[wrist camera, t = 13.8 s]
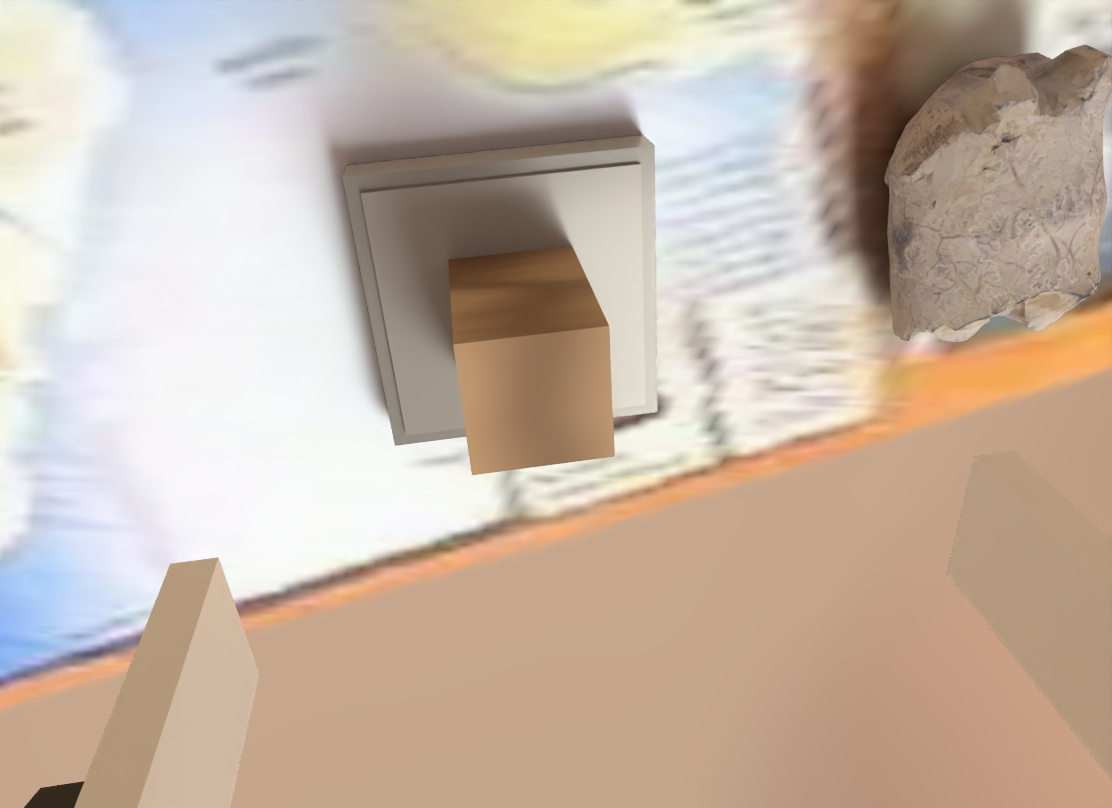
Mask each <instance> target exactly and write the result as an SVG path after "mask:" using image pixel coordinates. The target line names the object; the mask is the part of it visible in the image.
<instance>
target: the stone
mask: <svg viewBox="0 0 1112 808" xmlns="http://www.w3.org/2000/svg"><path fill="white" fill-rule="evenodd" d="M1111 90H1112V59H1111V56H1109V55H1107V54H1105V53H1104V52H1101V51H1099V50H1097V49H1095V48H1093V47H1090V46H1088V45H1082V46H1079V47H1076V48H1073V49H1070V50H1066V51H1065V52H1063V53H1062V54H1060V55H1059V56H1057V57H1056V58H1054V59H1050V58H1048V57H1045V56H1043V55H1041V54H1039V53H1029V54H1021V55H1017V56H1013V57H1003V56H1000V57H994V58H987V59H983V60H978V61H974V62H971V63H968V64H967V65H965V66H964V67H962V68H961V69H959V70H958V71H957V72H956V73H955V74H954V75H953V76H952V77H950V78H949V79H948V80H947V81H946V82H944V83H943V84H942V85H941V86H940V87H939V88H938V89H937V90H936V91H935V92H934V93H933V94H932V96H931V97H930V98H929V99H928V100H927V101H926V102H925V103H924V104H923V106H922V107H921V109H920V110H919V112H918V113H917V114H916V115H915V116H914V117H913V118H912V119H911V120H910V121H909V122H908V124H907V125H906V126H905V128H904V131H903V133H902V135H901V137H900V139H899V140H898V142H897V145H896V148H895V151H894V153H893V155H892V157H891V159H890V160H889V162H888V166H887V170H886V173H885V176H884V181H885V183H886V184H887V185H888V187H889V198H890V200H889V211H888V231H887V235H888V249H889V260H890V289H891V313H892V321H893V329H894V333H895V335H897V336H898V337H899V338H900V339H901V340H906V341H910V339H912V338H913V337H914V336H915V335H916V334H918V333H919V332H926V333H932V334H934V335H935V336H936V337H937V338H938V339H939V340H945V341H950V342H960V341H966V340H968V339H969V338H970V337H971V336H972V335H973V334H975V333H976V332H977V331H978V330H979V329H980V328H981V327H982V326H983V325H984V324H987V323H989V322H990V318H991V317H993V316H1004V317H1007V318H1010V319H1014V320H1017V321H1018V322H1021V323H1023V324H1024V325H1025V326H1026V327H1027V328H1029V329H1032V330H1034V331H1039V330H1042V329H1044V328H1045V327H1046V326H1047V325H1049V324H1052V323H1054V322H1056V321H1057V320H1058V319H1059V318H1060V317H1061V316H1062V315H1063V314H1064V313H1065V312H1066V311H1068V310H1071V309H1072V308H1073V307H1075V306H1076V305H1077V304H1078V303H1079V302H1081V301H1082V300H1084V299H1086V298H1087V297H1089V296H1090V294H1096V290H1097V285H1098V284H1099V283H1100V282H1101V276H1100V268H1099V239H1100V232H1101V226H1102V223H1103V219H1104V215H1105V210H1106V201H1107V193H1106V185H1105V179H1104V172H1103V118H1104V112H1105V108H1106V105H1107V101H1108V98H1109V96H1110V93H1111Z"/></svg>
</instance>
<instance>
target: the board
mask: <svg viewBox="0 0 1112 808" xmlns="http://www.w3.org/2000/svg"><path fill="white" fill-rule="evenodd" d="M342 180H343V185H344V190H345V195H346V200H347V205H348V210H349V215H350V220H351V226H352V231H353V236H354V241H355V246H356V251H357V256H358V261H359V266H360V271H361V276H362V281H363V286H364V291H365V296H366V301H367V306H368V311H369V317H370V322H371V327H372V332H373V337H374V342H375V347H376V352H377V357H378V362H379V367H380V372H381V377H382V382H383V387H384V392H385V397H386V402H387V408H388V413H389V418H390V423H391V428H392V433H393V438H394V443H395V446H396V445H404V444H412V443H419V442H427V441H435V440H443V439H450V438H458V437H466V430H465V423H464V416H463V409H462V402H461V395H460V388H459V381H458V374H457V367H456V360H455V354H454V347H453V332H452V315H451V297H450V279H449V262H448V260H449V259H458V258H467V257H476V256H485V255H494V254H503V253H512V252H521V251H530V250H539V249H548V248H557V247H566V246H573V248H574V251H575V253H576V255H577V257H578V259H579V261H580V264H581V266H582V268H583V270H584V272H585V274H586V277H587V279H588V281H589V283H590V285H591V287H592V290H593V292H594V294H595V296H596V298H597V300H598V303H599V305H600V307H601V309H602V311H603V313H604V316H605V318H606V320H607V322H608V324H609V332H610V356H611V381H612V405H613V417H621V416H629V415H636V414H644V413H652V412H657V337H656V248H655V159H654V145H653V144H652V143H651V142H650V141H649V140H648V139H647V138H646V137H645V136H644V135H637V136H627V137H617V138H607V139H597V140H588V141H578V142H568V143H558V144H548V145H538V146H529V147H519V148H509V149H499V150H489V151H480V152H470V153H460V154H450V155H440V156H431V157H421V158H411V159H401V160H391V161H382V162H372V163H362V164H352V165H346V168H345V171H344V174H343V176H342Z"/></svg>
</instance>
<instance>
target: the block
mask: <svg viewBox="0 0 1112 808" xmlns="http://www.w3.org/2000/svg"><path fill="white" fill-rule="evenodd" d="M448 262H449V279H450V297H451V315H452V332H453V347H454V354H455V360H456V367H457V374H458V381H459V388H460V395H461V402H462V409H463V416H464V423H465V430H466V437H467V443H468V450H469V457H470V464H471V471H472V475H477V474H484V473H492V472H499V471H507V470H515V469H522V468H530V467H537V466H545V465H553V464H560V463H568V462H575V461H583V460H591V459H598V458H606V457H613V456H615V454H614V430H613V405H612V381H611V356H610V332H609V324H608V322H607V320H606V318H605V316H604V313H603V311H602V309H601V307H600V305H599V303H598V300H597V298H596V296H595V294H594V292H593V290H592V287H591V285H590V283H589V281H588V279H587V277H586V274H585V272H584V270H583V268H582V266H581V264H580V261H579V259H578V257H577V255H576V253H575V251H574V248H573V246H566V247H557V248H548V249H539V250H530V251H521V252H512V253H503V254H494V255H485V256H476V257H467V258H458V259H449V260H448Z"/></svg>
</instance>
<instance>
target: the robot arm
mask: <svg viewBox="0 0 1112 808" xmlns="http://www.w3.org/2000/svg"><path fill="white" fill-rule="evenodd" d="M947 575H948V576H949V577H950V578H951V580H952V581H953V582H954V583H955V585H956V586H957V587H958V588H959V589H960V591H961V592H962V593H963V595H964V596H965V597H966V598H967V599H968V601H969V602H970V603H971V605H972V606H973V607H974V608H975V609H976V611H977V612H978V613H979V615H980V616H981V617H982V618H983V619H984V621H985V622H986V623H987V624H988V626H989V627H990V628H991V629H992V631H993V632H994V633H995V634H996V636H997V637H998V638H999V640H1000V641H1001V642H1002V643H1003V645H1004V646H1005V647H1006V648H1007V650H1008V651H1009V652H1010V653H1011V655H1012V656H1013V657H1014V658H1015V660H1016V661H1017V662H1018V663H1019V665H1020V666H1021V667H1022V668H1023V670H1024V671H1025V672H1026V673H1027V675H1028V676H1029V677H1030V678H1031V680H1032V681H1033V682H1034V683H1035V685H1036V686H1037V687H1038V688H1039V690H1040V691H1041V692H1042V693H1043V695H1044V696H1045V697H1046V698H1047V700H1048V701H1049V702H1050V703H1051V705H1052V706H1053V707H1054V709H1055V710H1056V711H1057V712H1058V713H1059V715H1060V716H1061V717H1062V719H1063V720H1064V721H1065V722H1066V724H1067V725H1068V726H1069V727H1070V728H1071V730H1072V731H1073V732H1074V734H1075V735H1076V736H1077V737H1078V738H1079V740H1080V741H1081V742H1082V743H1083V745H1084V746H1085V747H1086V749H1087V750H1088V751H1089V752H1090V754H1091V755H1092V756H1093V757H1094V759H1095V760H1096V761H1097V762H1098V764H1099V765H1100V766H1101V767H1102V769H1103V770H1104V771H1105V772H1106V774H1107V775H1108V776H1109V777H1110V779H1111V780H1112V538H1111V537H1110V536H1109V535H1108V534H1107V533H1105V532H1104V531H1103V530H1102V529H1101V528H1100V527H1099V526H1098V525H1097V524H1095V523H1094V522H1093V521H1092V520H1091V519H1090V518H1089V517H1087V515H1085V514H1084V513H1083V512H1082V511H1081V510H1080V509H1079V508H1078V507H1076V506H1075V505H1074V504H1073V503H1072V502H1071V501H1070V500H1069V499H1068V498H1067V497H1065V496H1064V495H1063V494H1062V493H1061V492H1060V491H1059V490H1058V489H1057V488H1055V487H1054V486H1053V485H1052V484H1051V483H1050V482H1049V481H1048V480H1047V479H1045V478H1044V477H1043V476H1042V475H1041V474H1040V473H1039V472H1038V471H1036V470H1035V469H1034V468H1033V467H1032V466H1031V465H1030V464H1029V463H1028V462H1027V461H1025V460H1024V459H1023V458H1022V457H1021V456H1020V455H1019V454H1018V453H1016V452H1015V451H1011V452H1003V453H996V454H989V455H981V456H975V457H974V459H973V464H972V468H971V472H970V477H969V481H968V485H967V489H966V493H965V498H964V502H963V506H962V510H961V515H960V519H959V523H958V528H957V532H956V536H955V540H954V545H953V548H952V553H951V557H950V561H949V565H948V570H947ZM258 677H259V672H258V669H257V666H256V663H255V661H254V658H253V655H252V652H251V649H250V646H249V643H248V641H247V638H246V635H245V632H244V629H243V626H242V623H241V621H240V618H239V615H238V612H237V609H236V606H235V603H234V601H233V598H232V595H231V592H230V589H229V586H228V583H227V581H226V578H225V575H224V572H223V569H222V566H221V563H220V561H219V558H211V559H204V560H196V561H189V562H182V563H174V564H170V566H169V569H168V571H167V574H166V577H165V579H164V582H163V584H162V587H161V589H160V592H159V594H158V597H157V599H156V602H155V604H154V607H153V609H152V612H151V615H150V617H149V620H148V622H147V625H146V627H145V630H144V632H143V635H142V637H141V640H140V642H139V645H138V647H137V650H136V653H135V655H134V658H133V660H132V663H131V665H130V668H129V670H128V673H127V675H126V678H125V680H124V683H123V685H122V688H121V691H120V693H119V696H118V698H117V701H116V703H115V706H114V708H113V711H112V713H111V716H110V718H109V721H108V723H107V726H106V728H105V731H104V734H103V736H102V739H101V741H100V744H99V746H98V749H97V751H96V754H95V756H94V759H93V762H92V764H91V767H90V769H89V772H88V774H87V777H86V779H85V781H84V782H77V783H70V784H64V785H57V786H51V787H44V788H40V789H39V791H38V792H37V793H36V794H35V795H34V796H33V798H32V799H31V800H30V801H29V803H28V804H27V805H26V806H25V807H24V808H230V805H231V799H232V795H233V791H234V786H235V782H236V777H237V773H238V768H239V764H240V759H241V755H242V750H243V745H244V740H245V736H246V731H247V727H248V722H249V718H250V714H251V709H252V704H253V700H254V695H255V691H256V686H257V682H258Z"/></svg>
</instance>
